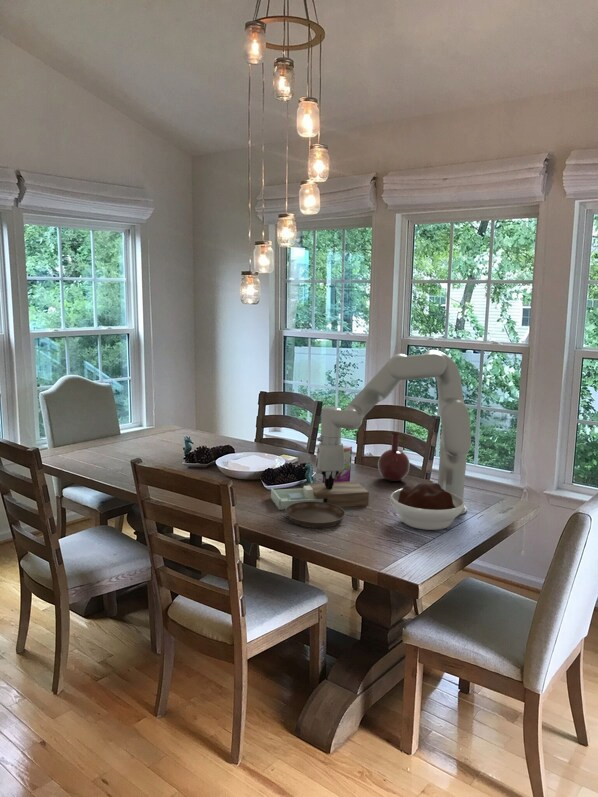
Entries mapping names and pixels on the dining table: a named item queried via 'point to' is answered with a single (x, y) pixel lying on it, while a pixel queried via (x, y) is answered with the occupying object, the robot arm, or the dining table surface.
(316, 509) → the plant saucer
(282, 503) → the tray
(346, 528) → the dining table surface
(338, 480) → the candy bar box
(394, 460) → the round-bottom flask
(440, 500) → the white serving bowl
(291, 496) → the slate tile
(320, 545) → the dining table surface
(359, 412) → the robot arm
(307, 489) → the cream tile
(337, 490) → the wooden board
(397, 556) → the dining table surface
